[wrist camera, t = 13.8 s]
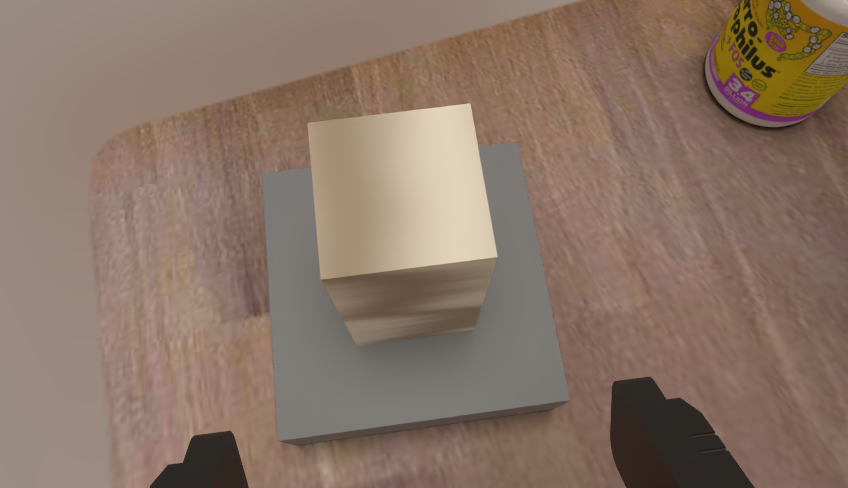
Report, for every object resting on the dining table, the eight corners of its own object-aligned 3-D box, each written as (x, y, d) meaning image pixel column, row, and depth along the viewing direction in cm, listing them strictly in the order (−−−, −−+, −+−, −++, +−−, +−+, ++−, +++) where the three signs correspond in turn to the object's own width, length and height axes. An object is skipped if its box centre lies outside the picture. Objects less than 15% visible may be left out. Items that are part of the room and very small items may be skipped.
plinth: (507, 178, 35) (517, 141, 31) (552, 409, 31) (570, 400, 27) (280, 206, 34) (262, 173, 30) (296, 445, 30) (277, 441, 27)
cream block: (456, 222, 30) (470, 103, 20) (474, 330, 28) (497, 256, 19) (346, 235, 29) (307, 122, 20) (357, 346, 28) (320, 279, 18)
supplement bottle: (688, 34, 38) (812, -175, 26) (802, 25, 38) (979, -186, 26) (715, 137, 35) (865, -38, 23) (836, 128, 36) (1047, -51, 24)
